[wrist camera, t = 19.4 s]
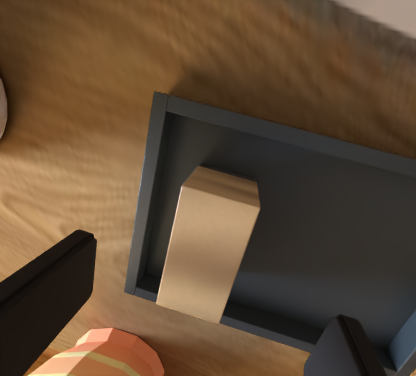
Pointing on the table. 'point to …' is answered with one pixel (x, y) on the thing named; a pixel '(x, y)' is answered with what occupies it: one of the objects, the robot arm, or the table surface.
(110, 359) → the potted cactus
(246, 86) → the table surface
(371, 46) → the table surface
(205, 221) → the wooden block
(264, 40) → the table surface
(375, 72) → the table surface
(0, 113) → the mug
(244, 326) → the tray
